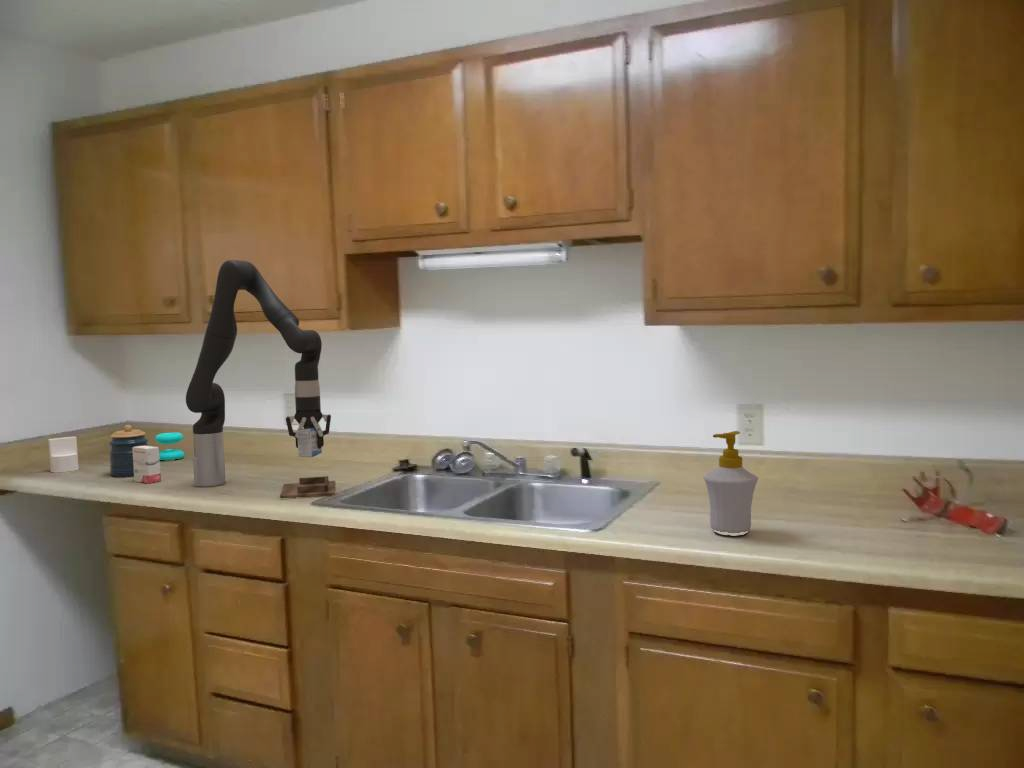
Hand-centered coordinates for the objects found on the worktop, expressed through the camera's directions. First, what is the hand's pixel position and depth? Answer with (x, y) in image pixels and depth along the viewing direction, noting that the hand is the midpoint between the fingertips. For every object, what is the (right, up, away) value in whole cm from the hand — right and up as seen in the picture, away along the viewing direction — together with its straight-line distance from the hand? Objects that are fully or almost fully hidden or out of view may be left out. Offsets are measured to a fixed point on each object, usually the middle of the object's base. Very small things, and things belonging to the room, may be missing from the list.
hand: (309, 448), depth 254 cm
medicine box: (0, -2, 0) cm, 2 cm away
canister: (-72, -12, +36) cm, 82 cm away
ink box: (-60, -13, +22) cm, 66 cm away
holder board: (-1, -13, +1) cm, 13 cm away
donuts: (-70, -10, +65) cm, 96 cm away
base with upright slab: (-101, -12, +45) cm, 111 cm away
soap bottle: (+116, -16, -56) cm, 130 cm away
